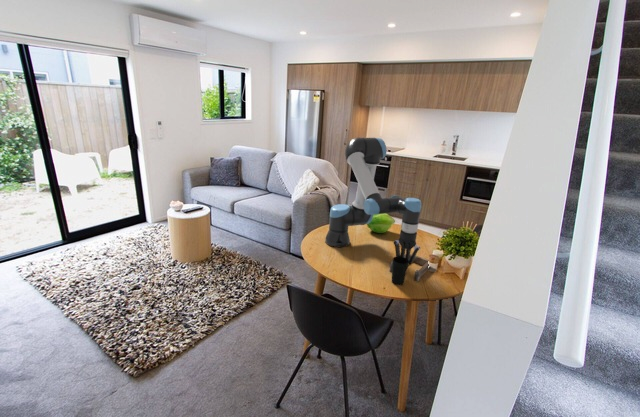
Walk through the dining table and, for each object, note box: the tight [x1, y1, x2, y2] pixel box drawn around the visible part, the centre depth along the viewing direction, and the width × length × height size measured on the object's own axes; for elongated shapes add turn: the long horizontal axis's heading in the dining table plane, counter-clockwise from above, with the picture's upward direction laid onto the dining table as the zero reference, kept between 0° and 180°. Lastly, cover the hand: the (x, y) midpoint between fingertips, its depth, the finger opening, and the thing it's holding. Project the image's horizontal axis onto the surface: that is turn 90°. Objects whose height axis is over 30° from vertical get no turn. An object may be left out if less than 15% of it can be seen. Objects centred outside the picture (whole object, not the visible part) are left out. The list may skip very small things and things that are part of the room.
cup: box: [391, 256, 409, 286], centre depth 148 cm, size 8×8×12 cm
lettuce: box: [366, 213, 396, 234], centre depth 210 cm, size 15×20×14 cm
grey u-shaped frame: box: [389, 253, 430, 283], centre depth 163 cm, size 15×20×5 cm
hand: (402, 274), depth 154 cm, fingers closed
